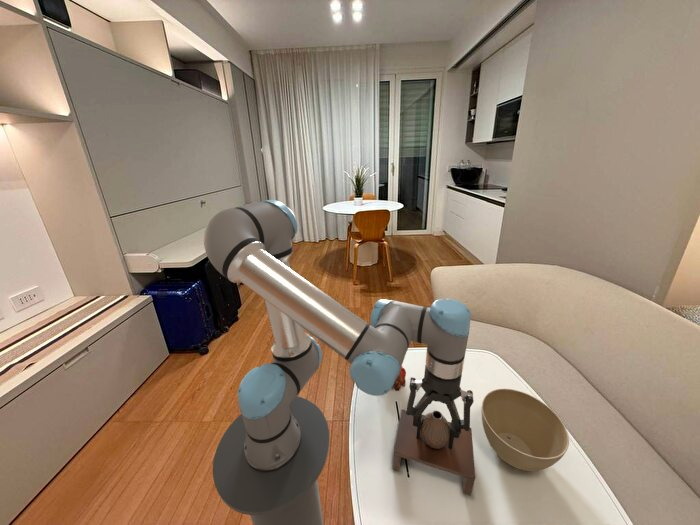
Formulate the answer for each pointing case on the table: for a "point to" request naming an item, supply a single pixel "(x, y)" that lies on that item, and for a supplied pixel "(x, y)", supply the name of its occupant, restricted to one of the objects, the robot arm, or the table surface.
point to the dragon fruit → (400, 380)
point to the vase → (435, 430)
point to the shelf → (435, 452)
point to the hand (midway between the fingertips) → (434, 438)
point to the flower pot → (523, 430)
